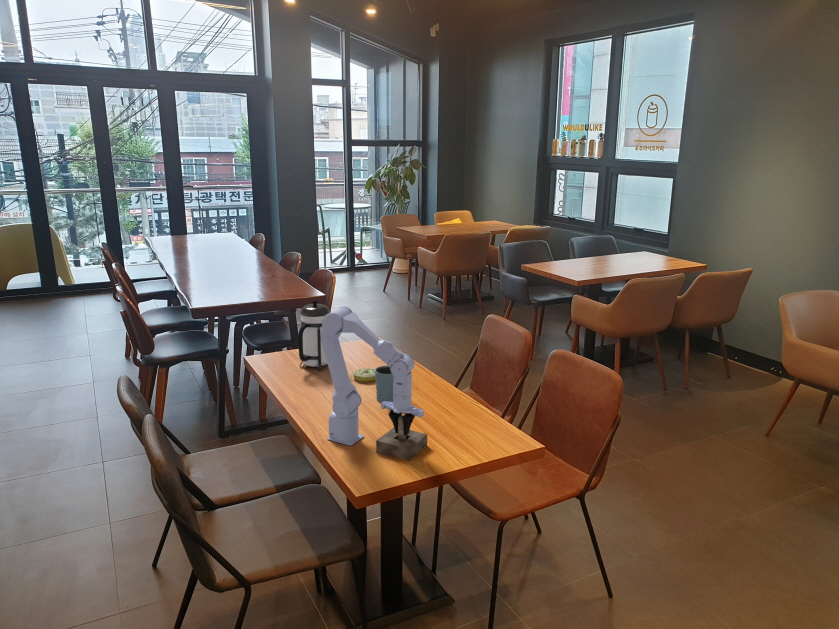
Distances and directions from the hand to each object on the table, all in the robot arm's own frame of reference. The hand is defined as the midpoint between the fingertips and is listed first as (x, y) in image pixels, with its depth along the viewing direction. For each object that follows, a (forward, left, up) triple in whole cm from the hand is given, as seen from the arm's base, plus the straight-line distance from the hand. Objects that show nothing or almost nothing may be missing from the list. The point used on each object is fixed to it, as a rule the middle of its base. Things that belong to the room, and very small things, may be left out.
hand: (402, 433), depth 202 cm
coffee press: (-71, +48, -6) cm, 86 cm away
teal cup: (-25, +33, -6) cm, 42 cm away
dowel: (0, 0, -2) cm, 2 cm away
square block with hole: (0, 0, -5) cm, 5 cm away
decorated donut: (-44, +47, -6) cm, 65 cm away
